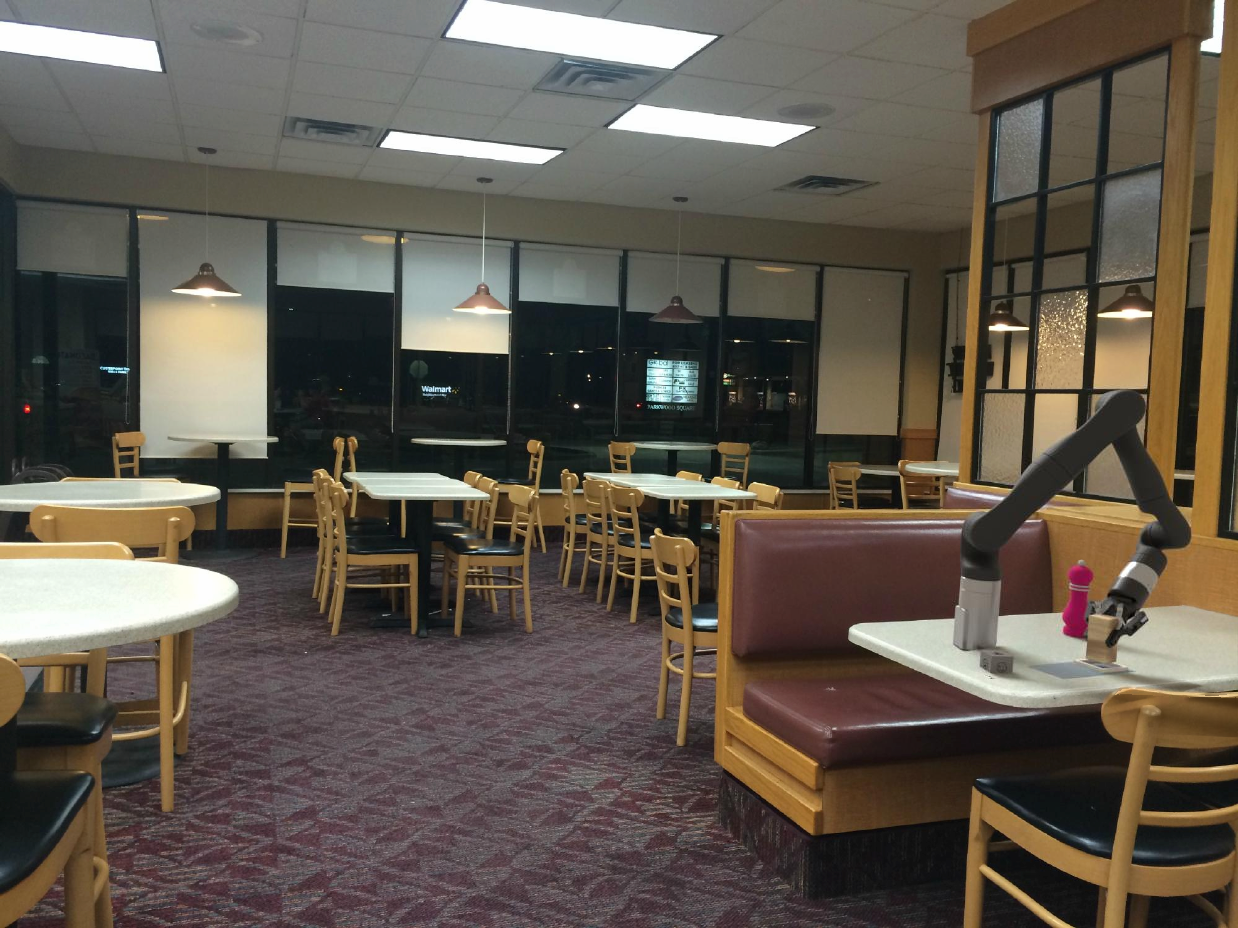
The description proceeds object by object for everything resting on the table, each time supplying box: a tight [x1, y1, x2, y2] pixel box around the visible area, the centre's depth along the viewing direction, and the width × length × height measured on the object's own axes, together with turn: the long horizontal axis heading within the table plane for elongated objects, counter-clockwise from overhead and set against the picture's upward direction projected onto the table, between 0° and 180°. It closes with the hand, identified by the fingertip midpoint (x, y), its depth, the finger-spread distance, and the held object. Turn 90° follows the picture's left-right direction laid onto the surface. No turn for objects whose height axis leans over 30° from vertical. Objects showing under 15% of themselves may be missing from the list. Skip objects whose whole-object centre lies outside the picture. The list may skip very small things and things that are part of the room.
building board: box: [1027, 658, 1136, 680], centre depth 215 cm, size 22×10×2 cm, turn 114°
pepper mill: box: [1061, 559, 1094, 638], centre depth 253 cm, size 7×7×20 cm
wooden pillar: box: [1085, 614, 1119, 664], centre depth 217 cm, size 4×4×10 cm
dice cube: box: [979, 649, 1015, 677], centre depth 210 cm, size 5×5×5 cm
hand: (1097, 642), depth 216 cm, fingers closed on wooden pillar, 4 cm apart
